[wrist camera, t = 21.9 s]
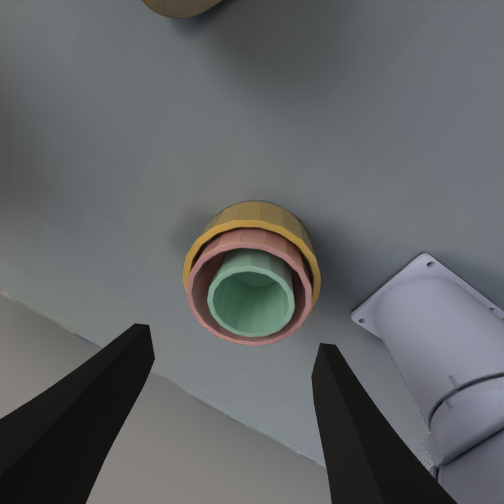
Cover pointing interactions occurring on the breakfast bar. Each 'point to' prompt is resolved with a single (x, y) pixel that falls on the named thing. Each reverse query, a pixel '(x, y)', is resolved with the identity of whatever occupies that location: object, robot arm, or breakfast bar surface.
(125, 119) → the breakfast bar surface
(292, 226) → the stack bottom
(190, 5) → the ceramic mug
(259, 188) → the breakfast bar surface
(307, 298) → the stack top
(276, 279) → the mint cup
